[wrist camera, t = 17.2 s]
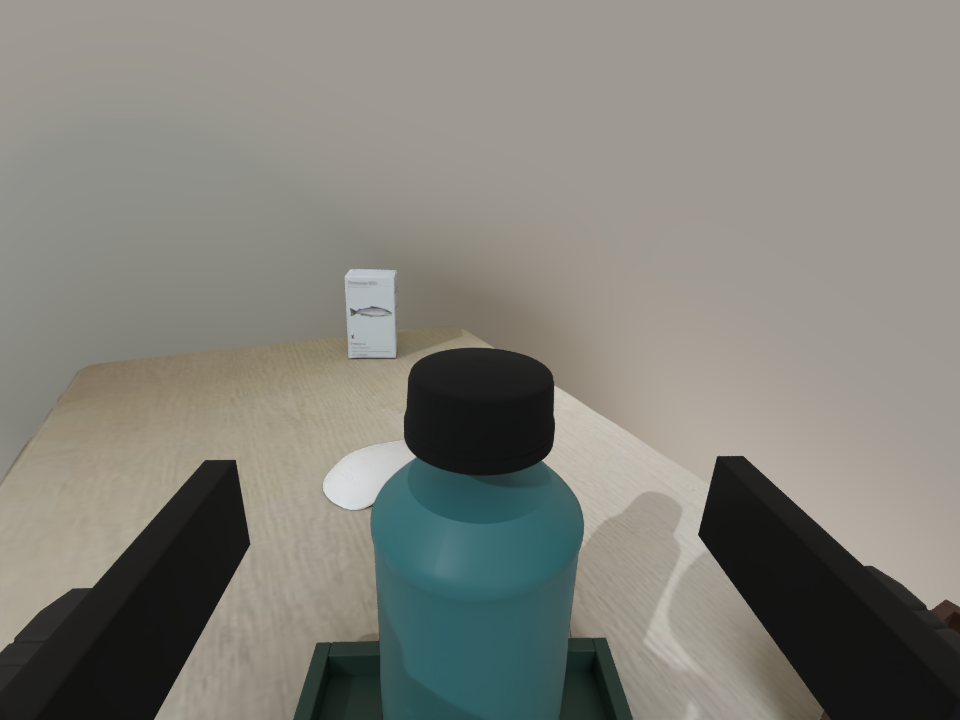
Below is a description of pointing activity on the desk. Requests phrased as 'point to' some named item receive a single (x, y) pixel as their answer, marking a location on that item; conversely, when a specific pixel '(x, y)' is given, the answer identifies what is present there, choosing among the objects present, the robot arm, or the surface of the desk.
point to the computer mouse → (365, 474)
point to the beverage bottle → (476, 546)
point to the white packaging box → (371, 313)
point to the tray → (352, 686)
